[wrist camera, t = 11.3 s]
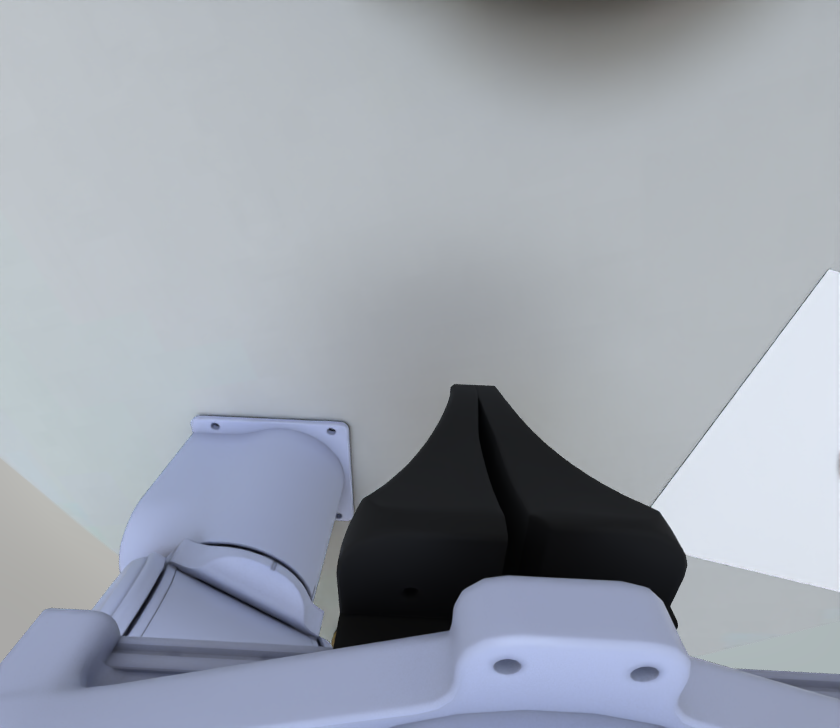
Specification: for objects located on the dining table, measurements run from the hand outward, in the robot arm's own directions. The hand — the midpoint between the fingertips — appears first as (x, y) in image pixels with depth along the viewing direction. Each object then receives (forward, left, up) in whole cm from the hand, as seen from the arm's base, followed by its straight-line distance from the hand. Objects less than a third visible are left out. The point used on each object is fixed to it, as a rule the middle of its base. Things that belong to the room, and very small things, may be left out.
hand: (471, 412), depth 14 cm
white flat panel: (+25, -10, -11) cm, 29 cm away
